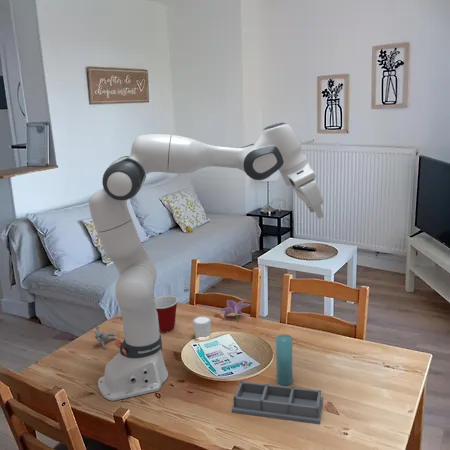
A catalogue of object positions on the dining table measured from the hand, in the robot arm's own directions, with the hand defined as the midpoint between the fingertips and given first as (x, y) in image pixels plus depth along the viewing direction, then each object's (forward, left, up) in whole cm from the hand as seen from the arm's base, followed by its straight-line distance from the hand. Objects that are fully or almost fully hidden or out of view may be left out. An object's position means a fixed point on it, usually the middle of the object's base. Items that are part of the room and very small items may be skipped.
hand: (317, 214), depth 149 cm
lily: (-3, +46, -52) cm, 70 cm away
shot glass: (-21, +40, -52) cm, 70 cm away
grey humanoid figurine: (-54, +57, -53) cm, 95 cm away
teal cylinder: (-13, 0, -52) cm, 54 cm away
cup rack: (-22, -10, -52) cm, 58 cm away
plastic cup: (-30, +54, -52) cm, 81 cm away
